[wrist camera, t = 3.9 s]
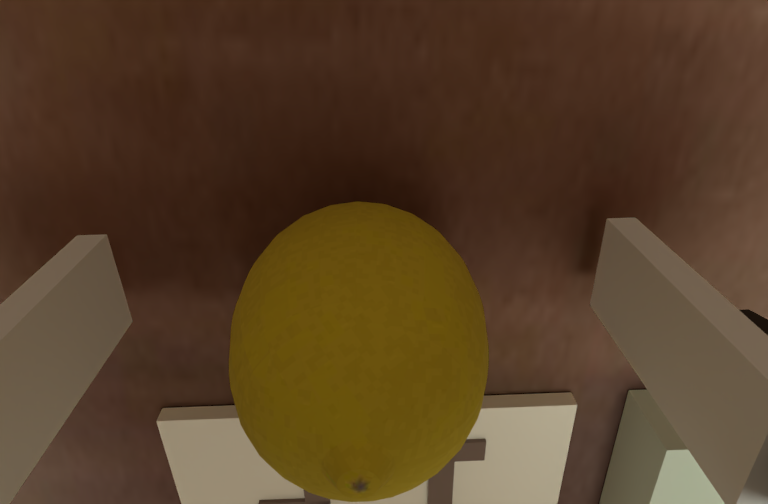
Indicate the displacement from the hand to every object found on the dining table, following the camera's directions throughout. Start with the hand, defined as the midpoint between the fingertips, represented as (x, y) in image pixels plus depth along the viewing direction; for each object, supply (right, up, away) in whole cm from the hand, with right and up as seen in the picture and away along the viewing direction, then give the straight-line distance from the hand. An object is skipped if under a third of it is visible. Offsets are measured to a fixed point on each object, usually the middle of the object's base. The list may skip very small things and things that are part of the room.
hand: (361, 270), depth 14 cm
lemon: (0, +1, +1) cm, 1 cm away
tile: (0, -7, +5) cm, 9 cm away
